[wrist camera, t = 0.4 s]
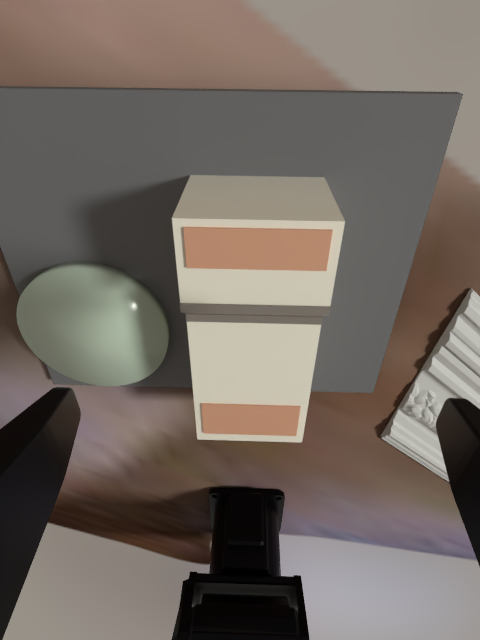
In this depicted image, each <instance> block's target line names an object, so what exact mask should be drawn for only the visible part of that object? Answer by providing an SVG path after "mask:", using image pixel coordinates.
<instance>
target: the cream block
mask: <svg viewBox="0 0 480 640" xmlns="http://www.w3.org/2000/svg"><path fill="white" fill-rule="evenodd" d="M344 225H345V220H344V218H343V216H342V214H341V212H340V209H339V207H338V205H337V203H336V201H335V199H334V197H333V195H332V192H331V190H330V188H329V186H328V184H327V182H326V180H325V177H277V176H217V175H190V177H189V180H188V182H187V184H186V186H185V189H184V191H183V193H182V196H181V198H180V200H179V203H178V205H177V207H176V210H175V212H174V214H173V217H172V226H173V236H174V246H175V256H176V266H177V276H178V286H179V296H180V311H181V313H219V314H262V315H305V316H329V315H330V309H331V307H330V305H331V299H332V294H333V288H334V282H335V277H336V271H337V265H338V259H339V254H340V248H341V242H342V237H343V231H344Z"/></svg>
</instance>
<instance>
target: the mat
mask: <svg viewBox="0 0 480 640" xmlns="http://www.w3.org/2000/svg"><path fill="white" fill-rule="evenodd" d="M462 96H463V94H461V93H458V92H404V91H402V92H401V91H326V90H246V89H167V88H87V87H7V86H0V248H1V250H2V253H3V255H4V258H5V260H6V263H7V266H8V268H9V271H10V273H11V276H12V278H13V281H14V284H15V286H16V289H17V291H18V294H19V296H21V294H22V293H23V291H24V290H25V288H26V287H27V286H28V285H29V284H30V282H31V281H32V280H33V279H34V278H35V277H36V276H37V275H38V274H40V273H41V272H43V271H44V270H46V269H48V268H50V267H52V266H55V265H58V264H62V263H68V262H93V263H98V264H103V265H106V266H109V267H113V268H115V269H118V270H120V271H122V272H124V273H126V274H128V275H130V276H132V277H133V278H135V279H136V280H138V281H139V282H141V283H142V284H143V285H144V286H145V287H147V288H148V289H149V290H150V291H151V292H152V293H153V295H154V296H155V297H156V298H157V299H158V301H159V302H160V304H161V305H162V307H163V309H164V311H165V313H166V315H167V318H168V322H169V327H170V338H169V344H168V347H167V351H166V354H165V357H164V359H163V361H162V363H161V364H160V366H159V367H158V368H157V369H156V370H155V371H154V372H153V373H152V374H150V375H149V376H148V377H146V378H144V379H142V380H140V381H137V382H135V383H131V384H127V385H121V386H138V387H175V388H193V385H192V374H191V363H190V352H189V341H188V330H187V322H186V313H181V311H180V296H179V286H178V276H177V266H176V256H175V246H174V236H173V226H172V217H173V214H174V212H175V210H176V207H177V205H178V203H179V200H180V198H181V196H182V193H183V191H184V189H185V186H186V184H187V182H188V180H189V177H190V175H217V176H277V177H325V180H326V182H327V184H328V186H329V188H330V190H331V192H332V195H333V197H334V199H335V201H336V203H337V205H338V207H339V209H340V212H341V214H342V216H343V218H344V220H345V225H344V231H343V237H342V242H341V248H340V254H339V259H338V265H337V271H336V277H335V282H334V288H333V294H332V299H331V305H330V307H331V309H330V315H329V316H323V321H322V325H321V330H320V336H319V342H318V348H317V354H316V360H315V366H314V372H313V378H312V385H311V391H325V392H363V393H373V391H374V388H375V384H376V381H377V378H378V374H379V371H380V368H381V364H382V361H383V358H384V354H385V351H386V348H387V344H388V341H389V338H390V335H391V331H392V328H393V325H394V321H395V318H396V315H397V311H398V308H399V305H400V301H401V298H402V295H403V291H404V288H405V285H406V281H407V278H408V275H409V272H410V268H411V265H412V262H413V258H414V255H415V252H416V248H417V245H418V242H419V238H420V235H421V232H422V228H423V225H424V222H425V218H426V215H427V212H428V209H429V205H430V202H431V199H432V195H433V192H434V189H435V185H436V182H437V179H438V175H439V172H440V169H441V165H442V162H443V159H444V155H445V152H446V149H447V145H448V142H449V139H450V135H451V132H452V129H453V126H454V122H455V119H456V116H457V112H458V109H459V106H460V102H461V99H462ZM46 366H47V368H48V371H49V374H50V376H51V379H52V381H53V384H63V385H92V384H88V383H84V382H80V381H77V380H74V379H72V378H69V377H67V376H65V375H63V374H61V373H59V372H57V371H55V370H54V369H52V368H51V367H49V366H48V365H47V364H46Z"/></svg>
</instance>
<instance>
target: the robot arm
mask: <svg viewBox="0 0 480 640" xmlns="http://www.w3.org/2000/svg"><path fill="white" fill-rule="evenodd" d="M80 416H81V413H80V408H79V405H78V402H77V399H76V396H75V393H74V391H73V390H72V389H71V388H66V387H56V388H53V389H51V390H50V391H49V392H47V393H46V394H45V395H43V396H42V397H41V398H40V399H38V400H37V401H36V402H35V403H33V404H32V405H31V406H29V407H28V408H27V409H26V410H24V411H23V412H22V413H20V414H19V415H18V416H17V417H15V418H14V419H13V420H12V421H10V422H9V423H8V424H6V425H5V426H4V427H3V428H1V429H0V640H2V639H3V636H4V634H5V631H6V628H7V626H8V623H9V621H10V618H11V616H12V613H13V610H14V608H15V605H16V602H17V600H18V597H19V595H20V592H21V589H22V587H23V584H24V582H25V579H26V577H27V574H28V571H29V569H30V566H31V564H32V561H33V559H34V556H35V553H36V551H37V548H38V546H39V543H40V540H41V538H42V535H43V532H44V530H45V527H46V525H47V522H48V520H49V517H50V515H51V512H52V509H53V507H54V504H55V502H56V499H57V496H58V494H59V491H60V489H61V486H62V483H63V480H64V477H65V474H66V471H67V467H68V463H69V459H70V456H71V452H72V448H73V444H74V440H75V437H76V433H77V429H78V425H79V422H80ZM436 431H437V435H438V439H439V443H440V447H441V451H442V455H443V459H444V463H445V467H446V471H447V475H448V479H449V482H450V486H451V490H452V493H453V495H454V498H455V501H456V504H457V507H458V509H459V512H460V515H461V517H462V520H463V523H464V525H465V528H466V531H467V534H468V536H469V539H470V542H471V544H472V547H473V550H474V552H475V555H476V558H477V560H478V563H479V566H480V409H479V408H478V407H477V406H475V405H474V404H473V403H471V402H470V401H469V400H467V399H465V398H448V399H447V400H446V401H445V402H444V404H443V407H442V409H441V411H440V413H439V415H438V417H437V420H436ZM284 499H285V497H284V493H283V492H282V491H266V490H234V489H211V490H210V491H209V507H210V521H211V529H213V535H212V547H211V560H210V572H209V574H202V573H197V572H190V576H189V579H187V580H185V581H183V586H182V593H181V601H180V607H179V611H178V615H177V620H176V624H175V628H174V632H173V636H172V640H309V633H308V625H307V618H306V611H305V603H304V596H303V589H302V581H301V576H297V575H296V576H295V575H294V577H285V576H281V570H280V550H279V531H280V528H281V521H282V514H283V507H284Z"/></svg>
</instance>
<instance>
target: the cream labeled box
mask: <svg viewBox="0 0 480 640" xmlns="http://www.w3.org/2000/svg"><path fill="white" fill-rule="evenodd" d="M322 321H323V316H305V315H262V314H219V313H186V322H187V330H188V341H189V352H190V363H191V374H192V385H193V396H194V407H195V418H196V429H197V439H202V440H236V441H271V442H302V439H303V433H304V427H305V421H306V415H307V409H308V403H309V397H310V391H311V385H312V378H313V372H314V366H315V360H316V354H317V348H318V342H319V336H320V330H321V325H322Z"/></svg>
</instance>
